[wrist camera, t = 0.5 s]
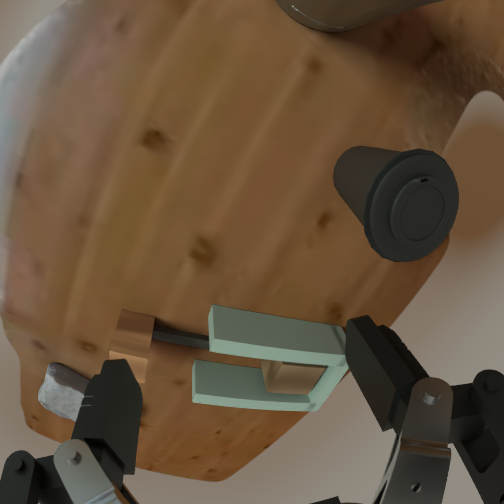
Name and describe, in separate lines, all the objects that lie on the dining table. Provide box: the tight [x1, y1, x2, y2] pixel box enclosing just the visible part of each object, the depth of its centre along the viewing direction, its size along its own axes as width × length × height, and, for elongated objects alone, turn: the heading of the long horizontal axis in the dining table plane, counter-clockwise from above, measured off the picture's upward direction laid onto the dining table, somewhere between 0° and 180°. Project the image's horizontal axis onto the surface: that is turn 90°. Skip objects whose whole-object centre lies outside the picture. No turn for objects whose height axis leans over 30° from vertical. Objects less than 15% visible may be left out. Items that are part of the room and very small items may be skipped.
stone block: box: [38, 363, 90, 422], centre depth 35 cm, size 12×5×10 cm
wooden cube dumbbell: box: [109, 310, 326, 395], centre depth 31 cm, size 4×21×6 cm, turn 72°
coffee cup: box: [333, 146, 459, 262], centre depth 22 cm, size 8×8×10 cm
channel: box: [192, 304, 349, 411], centre depth 33 cm, size 10×15×5 cm, turn 72°
